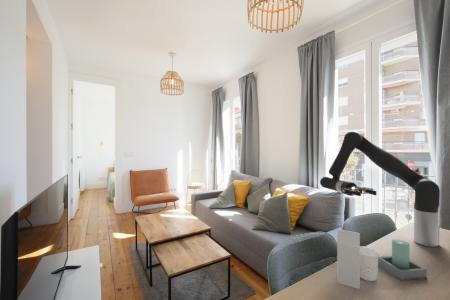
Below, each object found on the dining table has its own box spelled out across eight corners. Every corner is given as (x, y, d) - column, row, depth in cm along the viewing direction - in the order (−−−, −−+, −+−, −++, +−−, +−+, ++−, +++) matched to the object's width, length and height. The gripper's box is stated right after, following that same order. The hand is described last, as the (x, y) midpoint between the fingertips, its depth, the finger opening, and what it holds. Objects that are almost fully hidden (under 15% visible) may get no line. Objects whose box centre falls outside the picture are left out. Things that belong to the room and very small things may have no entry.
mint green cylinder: (400, 265, 91) (400, 239, 91) (413, 272, 86) (413, 245, 86) (388, 266, 91) (388, 239, 90) (400, 273, 85) (400, 246, 85)
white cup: (382, 283, 81) (383, 256, 80) (359, 281, 82) (359, 254, 82) (372, 271, 88) (373, 247, 88) (351, 269, 90) (351, 245, 90)
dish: (400, 263, 94) (400, 255, 94) (426, 278, 83) (426, 269, 83) (377, 265, 93) (377, 256, 93) (400, 280, 82) (401, 271, 82)
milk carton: (359, 289, 77) (359, 236, 77) (337, 283, 81) (337, 232, 81) (359, 279, 83) (359, 229, 83) (338, 273, 87) (338, 226, 87)
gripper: (334, 181, 124) (354, 186, 108) (357, 180, 125) (380, 185, 109) (334, 194, 124) (355, 201, 108) (357, 193, 125) (381, 200, 109)
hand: (368, 193), depth 108 cm, fingers open, 8 cm apart
